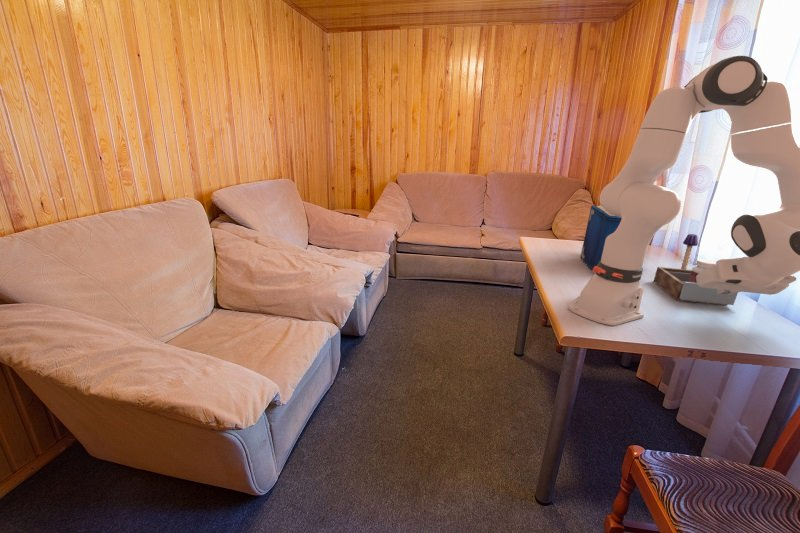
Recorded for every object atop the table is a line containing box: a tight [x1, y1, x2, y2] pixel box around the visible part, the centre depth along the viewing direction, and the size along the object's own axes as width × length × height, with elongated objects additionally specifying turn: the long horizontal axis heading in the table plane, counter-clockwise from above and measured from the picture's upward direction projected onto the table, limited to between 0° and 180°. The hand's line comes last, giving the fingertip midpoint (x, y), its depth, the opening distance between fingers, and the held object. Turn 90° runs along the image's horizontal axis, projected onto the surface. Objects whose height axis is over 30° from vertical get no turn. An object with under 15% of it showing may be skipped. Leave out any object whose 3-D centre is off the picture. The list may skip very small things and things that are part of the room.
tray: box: [667, 271, 739, 306], centre depth 126 cm, size 19×15×6 cm
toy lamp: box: [680, 233, 699, 270], centre depth 146 cm, size 5×5×17 cm
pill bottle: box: [688, 258, 717, 283], centre depth 122 cm, size 6×6×11 cm
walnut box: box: [653, 266, 728, 306], centre depth 129 cm, size 18×15×6 cm
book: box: [579, 204, 622, 272], centre depth 149 cm, size 22×7×25 cm, turn 168°
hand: (722, 292), depth 111 cm, fingers closed
